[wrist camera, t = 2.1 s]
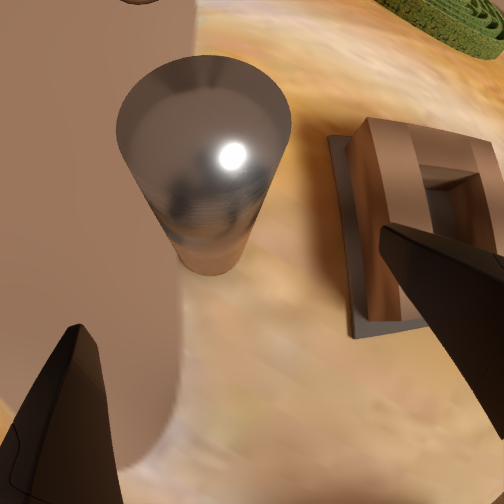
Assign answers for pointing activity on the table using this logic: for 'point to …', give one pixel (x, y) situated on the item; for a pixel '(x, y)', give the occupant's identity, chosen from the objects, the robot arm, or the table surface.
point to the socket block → (409, 207)
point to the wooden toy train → (139, 1)
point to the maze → (456, 23)
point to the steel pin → (205, 152)
